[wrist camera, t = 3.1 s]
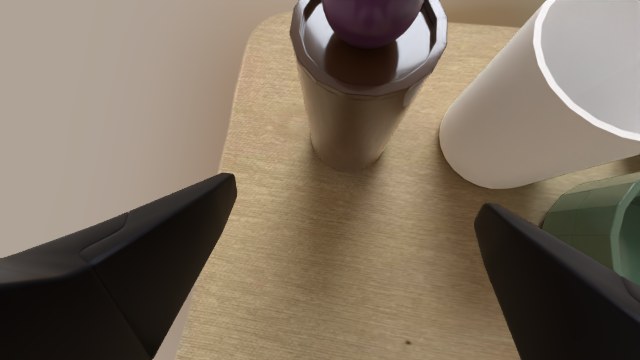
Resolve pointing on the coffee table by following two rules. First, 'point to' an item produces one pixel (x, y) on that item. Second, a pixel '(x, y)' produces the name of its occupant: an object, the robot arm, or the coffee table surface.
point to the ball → (370, 20)
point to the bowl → (602, 222)
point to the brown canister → (361, 82)
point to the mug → (551, 98)
